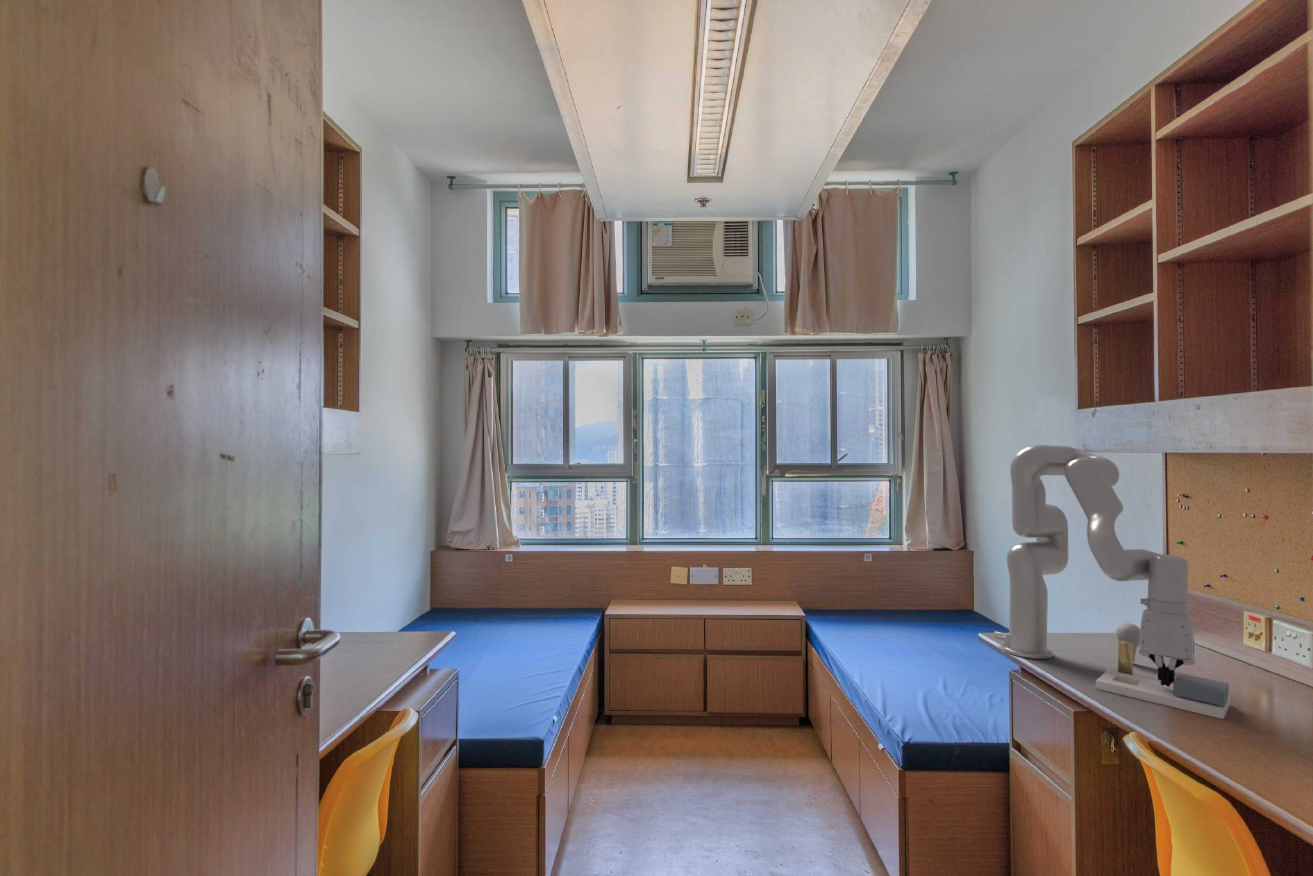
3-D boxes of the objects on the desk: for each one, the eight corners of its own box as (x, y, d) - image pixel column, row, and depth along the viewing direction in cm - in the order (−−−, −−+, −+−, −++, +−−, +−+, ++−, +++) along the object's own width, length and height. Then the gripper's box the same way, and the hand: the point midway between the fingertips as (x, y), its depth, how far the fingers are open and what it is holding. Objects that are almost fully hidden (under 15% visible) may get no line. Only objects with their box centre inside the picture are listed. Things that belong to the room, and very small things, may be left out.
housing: (1173, 694, 155) (1173, 681, 155) (1179, 685, 161) (1179, 673, 161) (1223, 706, 148) (1224, 692, 148) (1228, 696, 155) (1228, 683, 155)
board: (1095, 688, 164) (1096, 680, 164) (1107, 677, 173) (1107, 669, 173) (1223, 719, 147) (1223, 709, 147) (1229, 705, 156) (1229, 696, 156)
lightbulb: (1116, 664, 184) (1117, 624, 184) (1113, 658, 189) (1114, 619, 189) (1144, 668, 181) (1144, 627, 181) (1140, 662, 186) (1140, 622, 187)
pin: (1116, 677, 173) (1117, 642, 173) (1119, 674, 176) (1119, 640, 176) (1131, 680, 171) (1131, 645, 171) (1133, 677, 173) (1134, 642, 173)
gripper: (1126, 603, 162) (1124, 679, 162) (1205, 616, 151) (1204, 697, 151) (1132, 599, 167) (1131, 672, 167) (1209, 611, 157) (1208, 689, 156)
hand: (1166, 684), depth 159 cm, fingers closed
